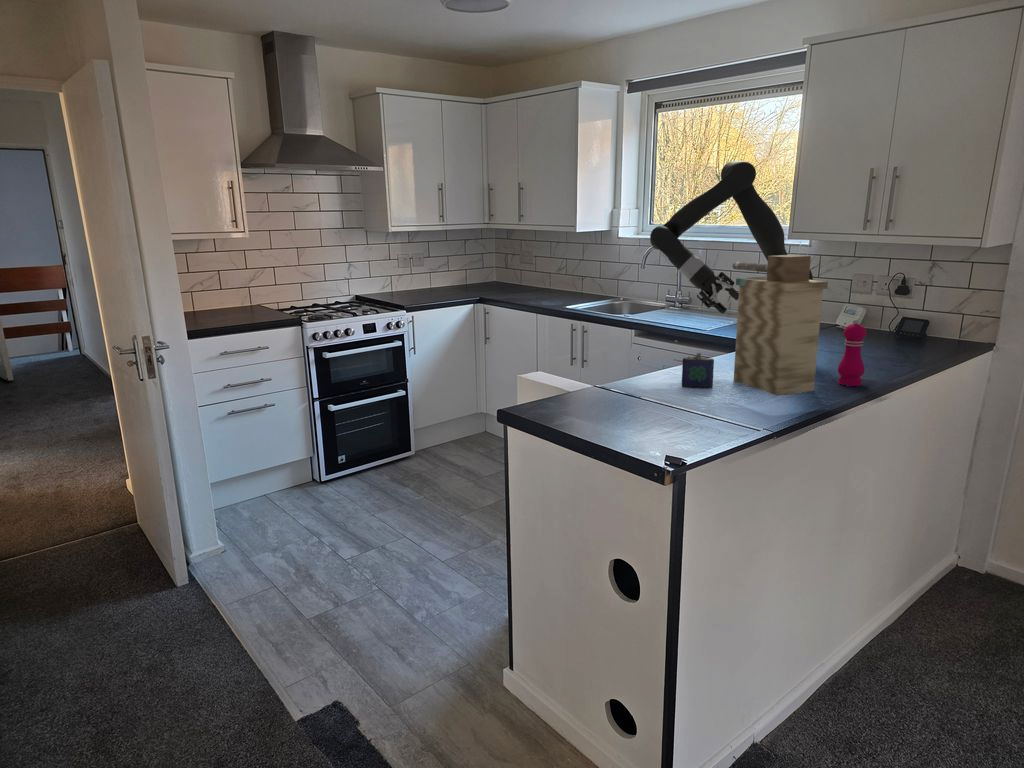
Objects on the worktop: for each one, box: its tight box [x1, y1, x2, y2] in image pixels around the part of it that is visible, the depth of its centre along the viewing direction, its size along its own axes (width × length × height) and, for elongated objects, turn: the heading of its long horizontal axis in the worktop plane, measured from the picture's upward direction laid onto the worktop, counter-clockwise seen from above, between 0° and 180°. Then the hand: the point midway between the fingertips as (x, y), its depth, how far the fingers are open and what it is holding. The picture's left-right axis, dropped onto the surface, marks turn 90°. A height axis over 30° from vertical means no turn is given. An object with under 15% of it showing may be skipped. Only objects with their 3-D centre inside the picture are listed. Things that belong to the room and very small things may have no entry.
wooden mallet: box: [732, 254, 812, 282], centre depth 197 cm, size 28×8×7 cm, turn 18°
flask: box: [681, 352, 715, 389], centre depth 198 cm, size 9×3×11 cm, turn 78°
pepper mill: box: [837, 318, 867, 387], centre depth 197 cm, size 7×7×20 cm
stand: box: [733, 276, 829, 396], centre depth 195 cm, size 22×14×32 cm, turn 18°
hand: (732, 305), depth 217 cm, fingers open, 8 cm apart
